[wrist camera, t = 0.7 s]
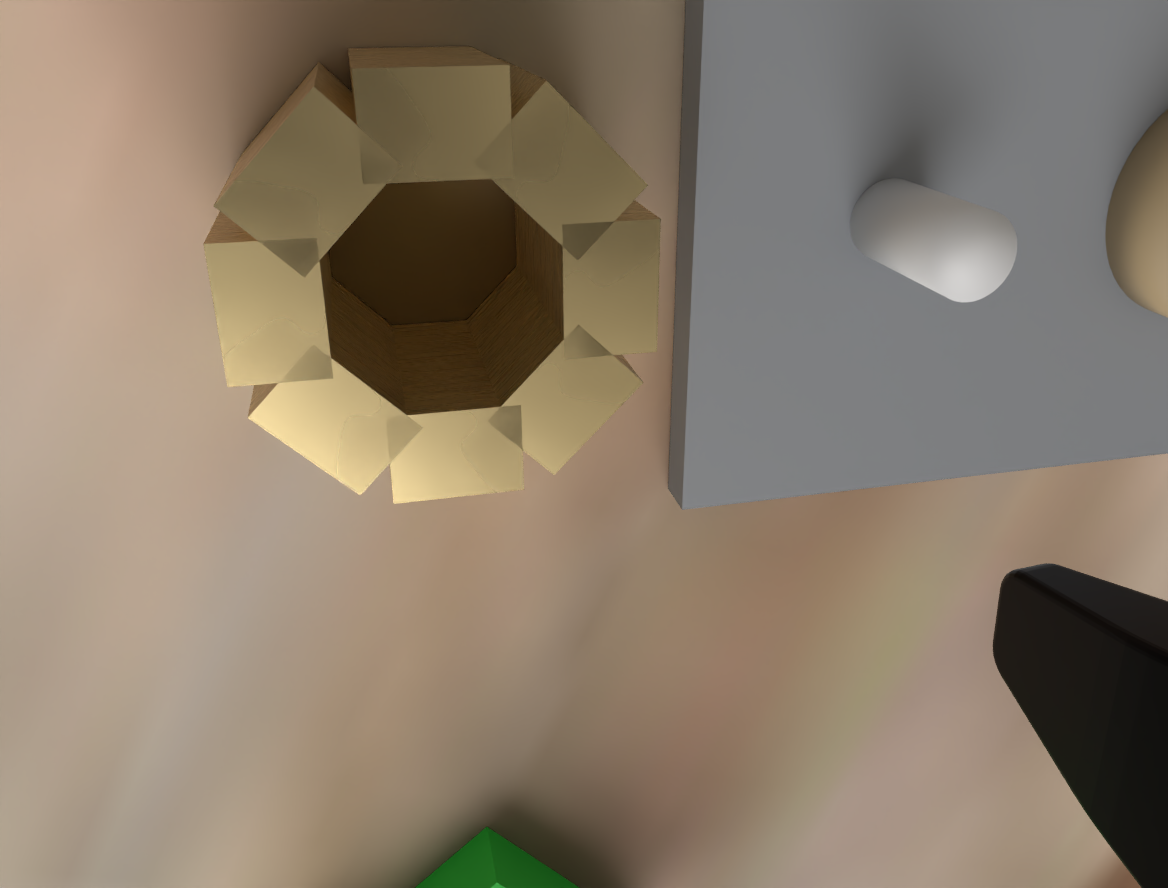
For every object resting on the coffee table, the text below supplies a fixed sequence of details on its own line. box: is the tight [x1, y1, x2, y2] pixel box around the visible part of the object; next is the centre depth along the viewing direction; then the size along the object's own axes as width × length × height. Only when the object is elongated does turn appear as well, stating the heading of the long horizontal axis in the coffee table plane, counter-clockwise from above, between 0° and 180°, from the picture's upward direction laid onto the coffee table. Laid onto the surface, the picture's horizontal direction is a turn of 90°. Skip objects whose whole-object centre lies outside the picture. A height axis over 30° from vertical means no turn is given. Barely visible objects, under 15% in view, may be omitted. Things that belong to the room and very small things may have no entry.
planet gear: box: [204, 46, 661, 504], centre depth 17 cm, size 6×6×4 cm
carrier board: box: [668, 0, 1168, 510], centre depth 19 cm, size 15×12×4 cm
